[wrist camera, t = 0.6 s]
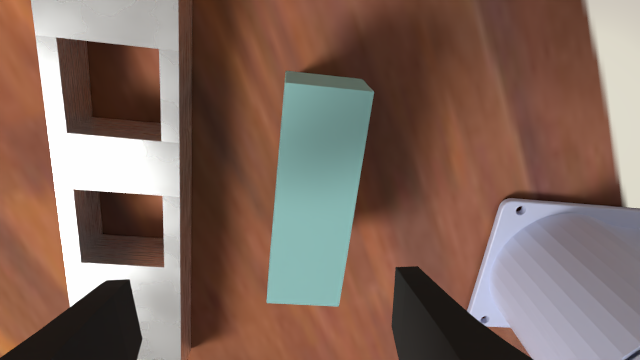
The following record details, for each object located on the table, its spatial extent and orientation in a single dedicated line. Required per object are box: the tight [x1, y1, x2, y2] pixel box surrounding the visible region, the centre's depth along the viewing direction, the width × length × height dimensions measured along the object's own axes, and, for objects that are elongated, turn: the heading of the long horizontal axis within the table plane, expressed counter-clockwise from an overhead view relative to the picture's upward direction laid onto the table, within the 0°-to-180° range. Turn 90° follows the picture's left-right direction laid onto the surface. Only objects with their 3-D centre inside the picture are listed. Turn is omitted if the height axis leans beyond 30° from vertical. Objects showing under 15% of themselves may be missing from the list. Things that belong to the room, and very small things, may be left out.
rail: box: [31, 0, 192, 360], centre depth 19 cm, size 5×24×2 cm, turn 173°
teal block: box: [267, 71, 374, 306], centre depth 18 cm, size 3×9×5 cm, turn 173°
